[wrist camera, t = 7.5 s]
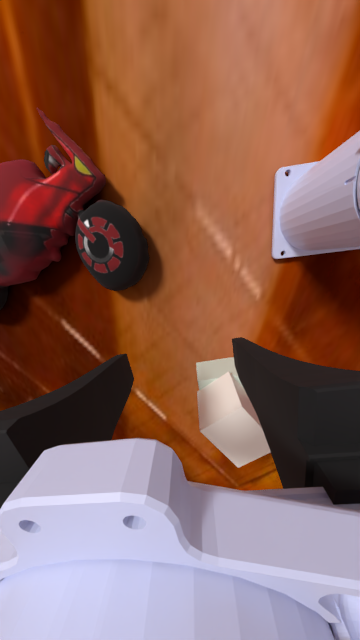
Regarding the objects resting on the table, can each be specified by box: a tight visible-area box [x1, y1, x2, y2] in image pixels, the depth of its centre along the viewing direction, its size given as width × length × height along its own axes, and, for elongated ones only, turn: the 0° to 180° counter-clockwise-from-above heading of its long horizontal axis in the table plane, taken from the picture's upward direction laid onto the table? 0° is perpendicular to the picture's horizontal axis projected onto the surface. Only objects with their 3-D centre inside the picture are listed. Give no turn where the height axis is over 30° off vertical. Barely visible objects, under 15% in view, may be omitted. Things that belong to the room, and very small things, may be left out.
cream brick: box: [197, 371, 271, 468], centre depth 18 cm, size 4×6×5 cm
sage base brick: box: [196, 357, 243, 390], centre depth 22 cm, size 6×6×4 cm
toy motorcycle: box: [0, 108, 149, 310], centre depth 17 cm, size 25×5×16 cm
